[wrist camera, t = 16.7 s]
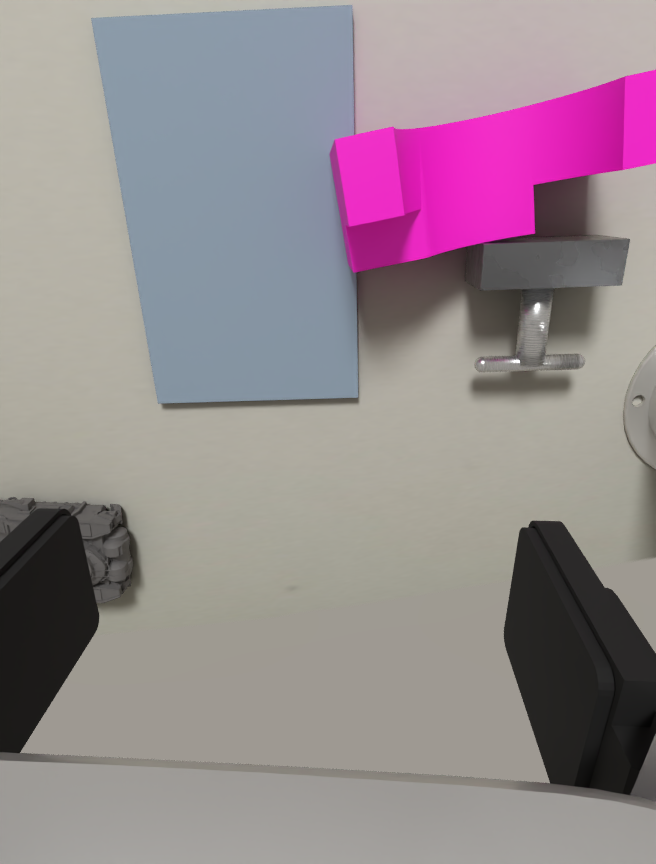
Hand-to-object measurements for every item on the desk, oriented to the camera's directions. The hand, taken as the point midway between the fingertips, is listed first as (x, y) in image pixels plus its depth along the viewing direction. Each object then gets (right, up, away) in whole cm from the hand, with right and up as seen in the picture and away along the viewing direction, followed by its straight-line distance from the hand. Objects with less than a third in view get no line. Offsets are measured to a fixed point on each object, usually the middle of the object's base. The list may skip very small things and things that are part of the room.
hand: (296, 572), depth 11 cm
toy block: (+9, +18, +21) cm, 29 cm away
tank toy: (-21, -6, +32) cm, 39 cm away
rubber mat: (-5, +16, +22) cm, 27 cm away
